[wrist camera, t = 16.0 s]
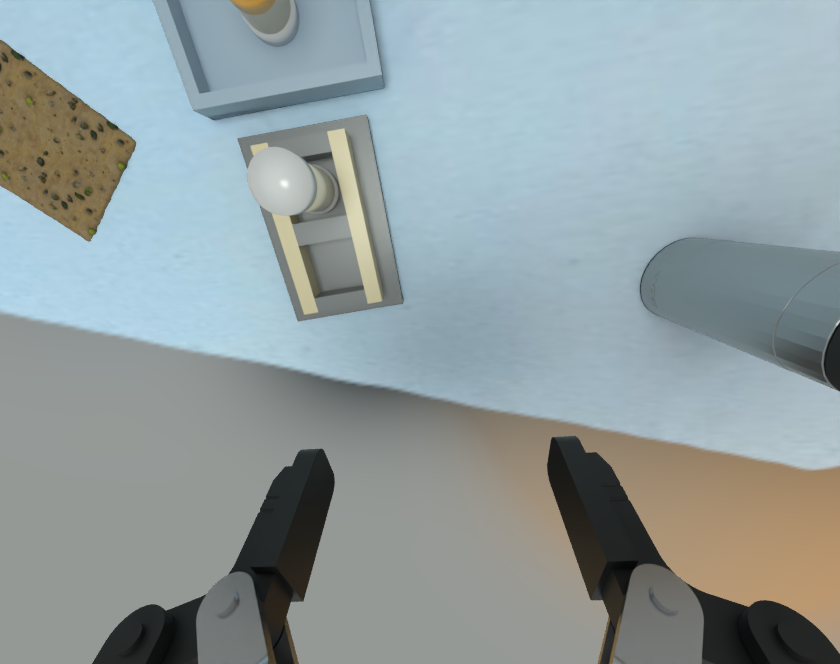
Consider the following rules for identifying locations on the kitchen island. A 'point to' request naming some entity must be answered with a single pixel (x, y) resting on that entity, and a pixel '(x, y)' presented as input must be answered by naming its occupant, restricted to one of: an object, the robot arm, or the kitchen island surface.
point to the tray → (270, 55)
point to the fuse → (291, 183)
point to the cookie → (56, 147)
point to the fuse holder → (334, 224)
